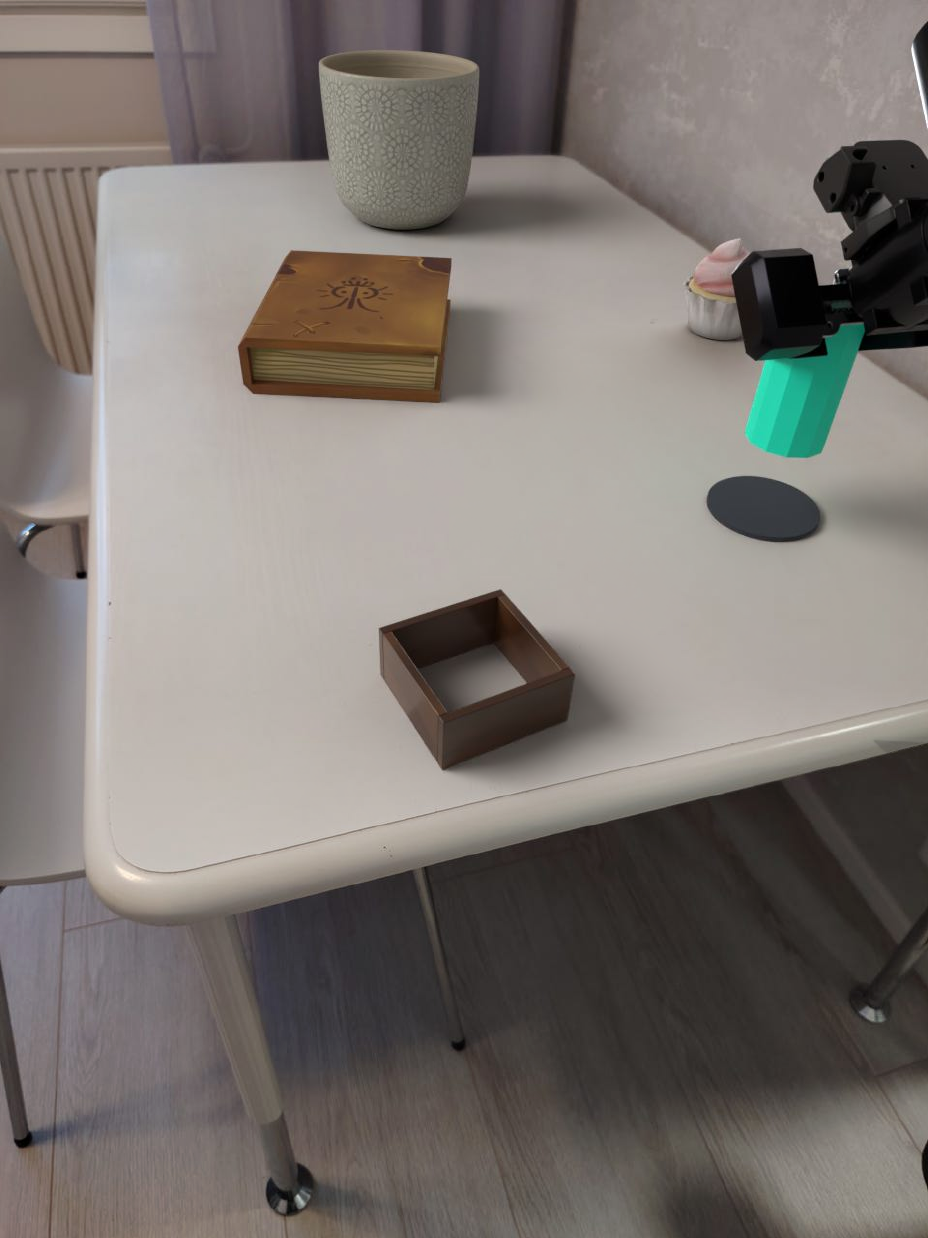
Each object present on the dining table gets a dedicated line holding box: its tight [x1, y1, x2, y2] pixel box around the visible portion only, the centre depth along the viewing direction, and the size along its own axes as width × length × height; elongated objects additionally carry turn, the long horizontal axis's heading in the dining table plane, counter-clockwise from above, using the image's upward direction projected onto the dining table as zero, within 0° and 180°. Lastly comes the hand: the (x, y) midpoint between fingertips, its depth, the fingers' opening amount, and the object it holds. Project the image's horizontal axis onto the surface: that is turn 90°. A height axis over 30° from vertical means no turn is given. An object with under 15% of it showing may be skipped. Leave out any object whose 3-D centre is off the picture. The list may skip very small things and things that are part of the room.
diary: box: [237, 249, 453, 403], centre depth 89 cm, size 23×19×6 cm
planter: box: [318, 49, 480, 231], centre depth 118 cm, size 21×21×19 cm
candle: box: [744, 278, 865, 459], centre depth 62 cm, size 6×6×12 cm
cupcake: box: [683, 237, 751, 341], centre depth 95 cm, size 9×9×10 cm
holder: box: [378, 588, 576, 770], centre depth 52 cm, size 9×9×4 cm
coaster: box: [706, 475, 821, 542], centre depth 71 cm, size 9×9×1 cm
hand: (799, 348), depth 63 cm, fingers closed on candle, 5 cm apart
